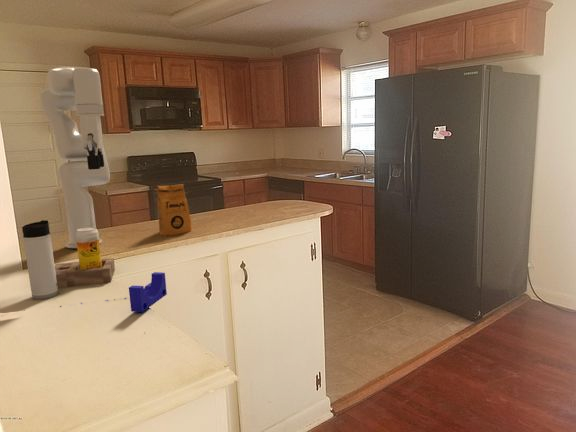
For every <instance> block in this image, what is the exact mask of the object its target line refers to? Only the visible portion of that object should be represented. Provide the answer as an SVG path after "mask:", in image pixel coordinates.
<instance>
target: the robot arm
mask: <svg viewBox="0 0 576 432" xmlns="http://www.w3.org/2000/svg"><path fill="white" fill-rule="evenodd" d="M46 77H47V78H46V79H47V81H46V82H47V86H48V87H47V88H44V89H43V90H42V91H41V93H40V104H41V107H42V111H43V113H44V115H45V117H46V119H47V120H48V121H49V124H50V125H51V128H52V130H53V135H54V139H55V140H54V141H55V145H56V147H57V148H56V149H57V152H58V155H59V157H60V158H61V160H63V161H67V162H63V163H62V164H60V166H59V167H58V173H57V174H58V178H59V181H60V185H61V189H62V192H63V198H64V205H65V212H66V213H65V214H66V220H67V226H68V227H67V228H68V235H69V241H68V242H67V243H66V244H65V246H66V248H68V249H77V241H76V232H77V230H78V229H81V228H87V227H95V228H96V229H97V226H96V225H97V224H96V215H95V208H94V207H95V206H94V199H93V197H92V194H91V193H89V192H88V191H87V190H86V189H85V188H86V187H91V186H93V187H94V186H101V185H106V184H108V183H109V182H110V181H111V180H110V179H111V172H110V171H111V170H110V166H109V164H108V159H107V154H106V150H105V147H104V146H105V145H104V141H103V139H104V138H103V130H102V119H101V117H104V116H105V113H104V112H105V111H104V102H103V94H102V83H101V76H100V72H99V71H98V70H97V69H96V68H92V67H87V66H84V67H83V66H64V65H63V66H62V65H61V66H58V67H56V68H51V69H49V70H48V73H47V76H46ZM64 111H65V112H66V111H67V112H70V111H72V112H73V111H76V117H80V121H79V122H80V123H79V126H80V132H79V127H78V124H77V122H76V120H74V119H73V118H72V117H71V116H69V115H68V114H67V113H65V112H64ZM99 243H101V244H102V243H103V239H102V238H100V237H99Z"/></svg>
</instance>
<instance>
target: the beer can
mask: <svg viewBox="0 0 576 432" xmlns="http://www.w3.org/2000/svg"><path fill="white" fill-rule="evenodd" d="M99 238H100V236H99V231H98V229H97V227H96V228H95V227H87V228H81V229H78V230H77V232H76V241H77V248H76V250H77V257H78V262H79V264H80V270H84V269H93V268H102V260H101V259H102V255H101V253H102V252H101V245H100V243H99Z"/></svg>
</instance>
